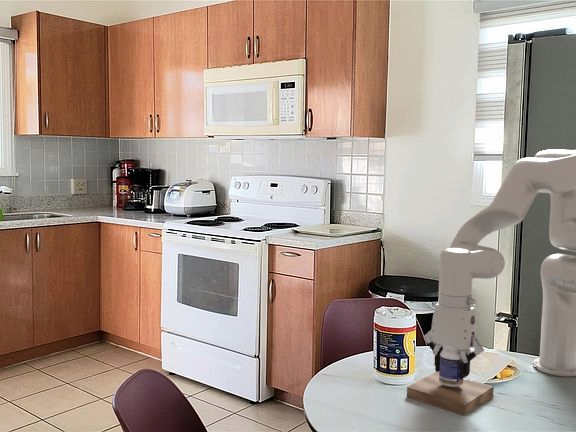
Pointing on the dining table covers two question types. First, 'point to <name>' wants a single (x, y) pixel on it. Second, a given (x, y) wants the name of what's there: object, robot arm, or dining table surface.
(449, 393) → the walnut board
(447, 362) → the pill bottle
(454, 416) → the dining table surface
